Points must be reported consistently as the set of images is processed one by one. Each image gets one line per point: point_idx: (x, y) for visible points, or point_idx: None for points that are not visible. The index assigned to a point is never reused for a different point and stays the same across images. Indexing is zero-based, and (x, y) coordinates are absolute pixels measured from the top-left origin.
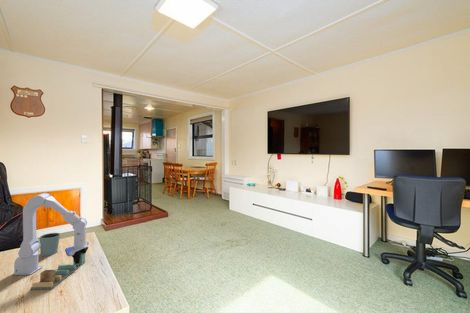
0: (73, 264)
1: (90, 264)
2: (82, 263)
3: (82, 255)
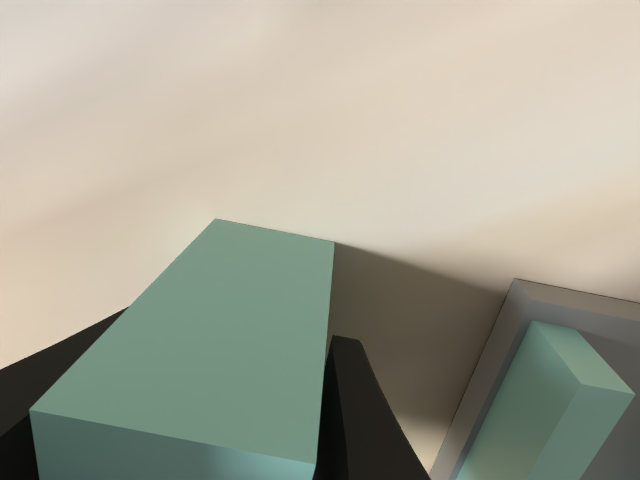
0: (548, 435)
1: (334, 37)
2: (311, 253)
3: (287, 449)
